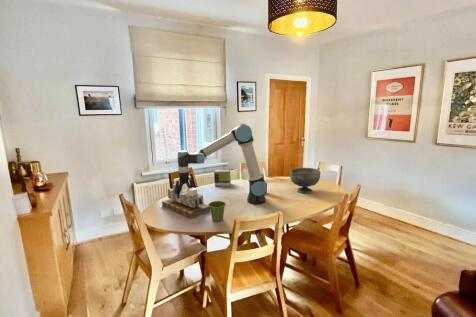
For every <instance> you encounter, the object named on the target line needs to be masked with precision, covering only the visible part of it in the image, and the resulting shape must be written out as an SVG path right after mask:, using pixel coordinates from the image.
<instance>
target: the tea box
mask: <svg viewBox="0 0 476 317" xmlns="http://www.w3.org/2000/svg"><path fill="white" fill-rule="evenodd" d="M213 173H214V174H213V176H214V177H213V178H214V187H230V185H231V169H215V170H214V172H213Z"/></svg>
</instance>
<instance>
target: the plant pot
mask: <svg viewBox="0 0 476 317" xmlns="http://www.w3.org/2000/svg"><path fill="white" fill-rule="evenodd" d="M226 204H227V203H226V202H225V201H222V200H215V201H211V202H209V203H208V204H207V205H208V206H209V208H210V211H209V212H210V214H211V218H212V221H213V222H215V223H216V222H221V221H223V220H224V215H225V214H224V213H225V207H226Z"/></svg>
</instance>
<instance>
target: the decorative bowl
mask: <svg viewBox="0 0 476 317" xmlns="http://www.w3.org/2000/svg"><path fill="white" fill-rule="evenodd" d="M289 176H290V177H289V178H290V182H292V183H293V184H294V185H297V186H298V189H297V190H296V191H297V193H301V194H303V195H305V194H307V195H309V194H311V193H313V190H312V189H311V188H310V187H313V186H315V185H317V184H318V183H319V181H320V179H321V171H320V170H319V169H316V168H312V167H298V168H297V167H296V168H293V169H290V170H289Z"/></svg>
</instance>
